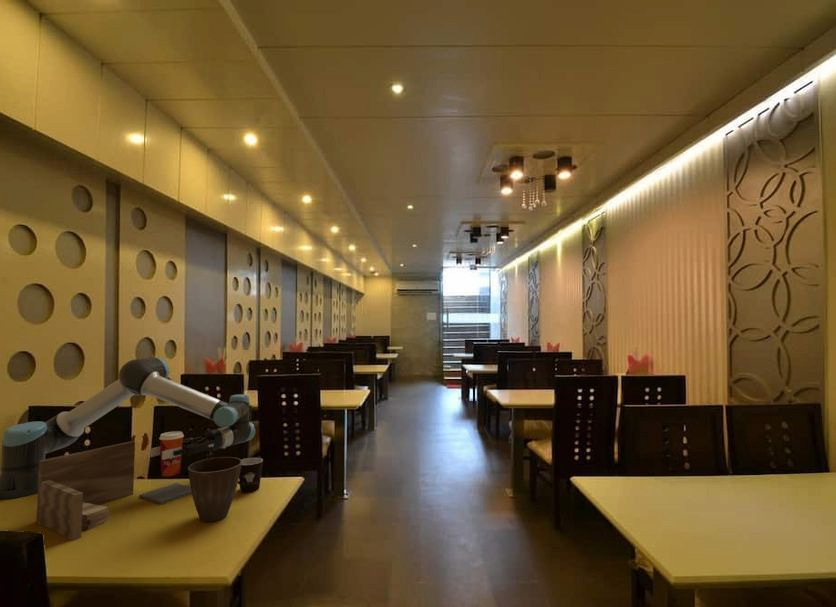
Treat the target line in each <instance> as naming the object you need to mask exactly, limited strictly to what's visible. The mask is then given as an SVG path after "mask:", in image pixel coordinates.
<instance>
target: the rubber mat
mask: <svg viewBox="0 0 836 607" xmlns="http://www.w3.org/2000/svg"><path fill="white" fill-rule="evenodd" d="M190 495H192V491H191V487H190V485H185V484H181V483H179V482H176V483H173V484H169V485H166V486H163V487H160V488H156V489H153V490H150V491H147V492H145V493H140V494H139V495H138V497H139V498H141V497H142V498H141V499H143V498H145V499H144V500H146V499H147V501H149V500H150V501H149V502H152V501H153V503H155V504H158V505H163V504H166V503H169V502H173V501H175V500H177V499H180V498H184V497H185V496H186V497H187V496H190Z"/></svg>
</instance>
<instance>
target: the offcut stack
mask: <svg viewBox="0 0 836 607" xmlns="http://www.w3.org/2000/svg"><path fill="white" fill-rule="evenodd" d="M110 516H111V511H110V510H109V506H106V505H101V504H99V505H95V504H90V503H84V502H83V506H82V528H81V530H86V531H89V530H92V529H94V528H96V527H98V526H100V524H101V525H103V524H104V522H105V523H107V522H106V521H108V520H110ZM108 522H109V521H108ZM102 523H103V524H102Z"/></svg>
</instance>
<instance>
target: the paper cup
mask: <svg viewBox="0 0 836 607" xmlns="http://www.w3.org/2000/svg"><path fill="white" fill-rule="evenodd" d="M184 437H185V435H184V433H183V431H181V430H180V431H179V430H175V431H168V432H167V431H166V432H163V433H161V434H160V437H159V438H158V439H159V447H160V451H161V455H160V470H161V473H160V474H161V477H165V478H166V477H173V476H176V475H179V474H180V472H181V465H182V464H181V463H182V455H183V454H182V455H180V456H176V457H172V458H169V459H165V460H162V451H166V450H170V449H175V448H179V447H182V444H183V440H184Z"/></svg>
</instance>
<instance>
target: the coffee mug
mask: <svg viewBox="0 0 836 607" xmlns="http://www.w3.org/2000/svg"><path fill="white" fill-rule="evenodd" d="M240 460H241V461H242V463H241V469H240V475H239V479H238V484H237V485H239V490H240V491H241V492H240V493H242V492H251V493H254V492H253V491H255V492H257V491H259V490H260V486H261V478H262V470H263V462H264V459H263V458H261V457H248V458H243V459H240ZM258 489H259V490H258ZM256 490H257V491H256Z"/></svg>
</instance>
